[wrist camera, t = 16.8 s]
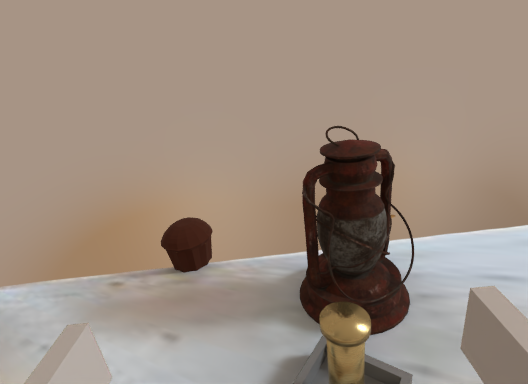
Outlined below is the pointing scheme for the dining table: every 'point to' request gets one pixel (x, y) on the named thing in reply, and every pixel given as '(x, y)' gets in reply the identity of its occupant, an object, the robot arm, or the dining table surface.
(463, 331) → the robot arm
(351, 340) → the lock pin
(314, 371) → the tray
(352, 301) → the lantern
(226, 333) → the dining table surface
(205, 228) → the muffin
